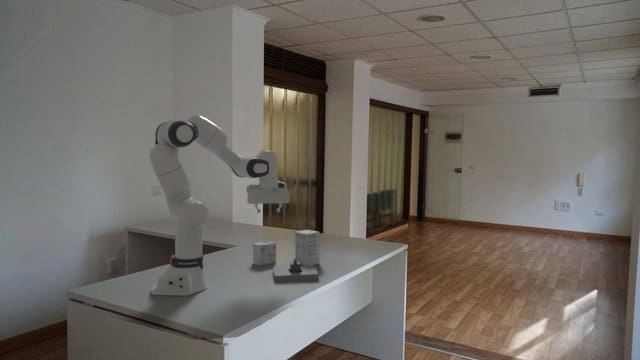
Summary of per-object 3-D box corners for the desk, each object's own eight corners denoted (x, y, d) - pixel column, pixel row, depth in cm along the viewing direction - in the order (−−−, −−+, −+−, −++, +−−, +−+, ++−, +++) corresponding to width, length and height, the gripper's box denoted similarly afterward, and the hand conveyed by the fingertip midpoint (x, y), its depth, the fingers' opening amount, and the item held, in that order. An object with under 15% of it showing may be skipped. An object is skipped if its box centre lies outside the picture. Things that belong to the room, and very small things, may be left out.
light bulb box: (268, 259, 238) (268, 240, 237) (276, 262, 233) (276, 242, 232) (252, 263, 231) (252, 243, 230) (260, 266, 226) (260, 245, 225)
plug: (291, 277, 206) (291, 260, 206) (290, 274, 211) (290, 257, 210) (300, 276, 207) (300, 259, 206) (299, 273, 211) (299, 257, 211)
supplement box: (320, 263, 232) (320, 231, 230) (307, 267, 225) (307, 234, 224) (307, 260, 239) (307, 229, 237) (294, 263, 232) (294, 231, 231)
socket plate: (275, 282, 200) (275, 275, 200) (272, 273, 214) (272, 267, 214) (318, 280, 204) (318, 274, 203) (313, 271, 217) (313, 265, 217)
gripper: (246, 184, 208) (246, 214, 209) (290, 184, 211) (290, 213, 213) (246, 183, 214) (246, 212, 215) (288, 183, 218) (288, 211, 219)
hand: (268, 212), depth 214 cm, fingers open, 8 cm apart
